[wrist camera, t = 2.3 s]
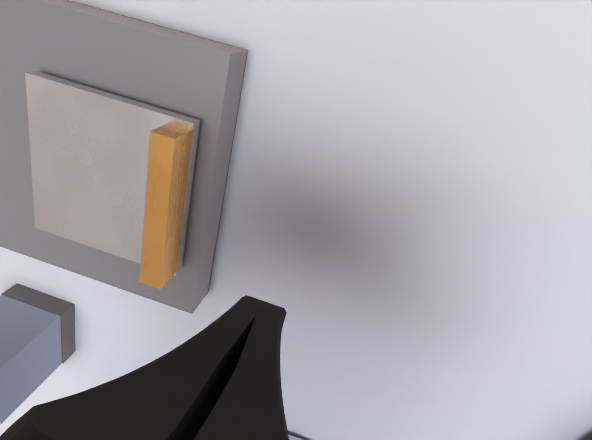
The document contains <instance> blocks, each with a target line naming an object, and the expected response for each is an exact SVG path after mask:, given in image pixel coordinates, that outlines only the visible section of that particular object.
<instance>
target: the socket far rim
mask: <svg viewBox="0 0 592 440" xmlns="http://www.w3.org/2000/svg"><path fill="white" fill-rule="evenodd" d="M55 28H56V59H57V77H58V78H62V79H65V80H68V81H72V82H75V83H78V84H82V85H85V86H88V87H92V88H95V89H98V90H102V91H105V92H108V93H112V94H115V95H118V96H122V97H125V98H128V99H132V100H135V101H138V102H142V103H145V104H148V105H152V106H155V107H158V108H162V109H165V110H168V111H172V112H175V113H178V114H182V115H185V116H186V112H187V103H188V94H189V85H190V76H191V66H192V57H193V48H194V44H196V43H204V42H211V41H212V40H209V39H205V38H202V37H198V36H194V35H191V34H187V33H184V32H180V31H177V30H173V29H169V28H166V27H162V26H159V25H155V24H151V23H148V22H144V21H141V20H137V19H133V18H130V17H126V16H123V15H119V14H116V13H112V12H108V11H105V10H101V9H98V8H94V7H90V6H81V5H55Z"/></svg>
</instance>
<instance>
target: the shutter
mask: <svg viewBox="0 0 592 440" xmlns="http://www.w3.org/2000/svg"><path fill="white" fill-rule="evenodd" d="M25 79H26V94H27V110H28V125H29V140H30V156H31V171H32V186H33V202H34V217H35V228H37V229H40V230H43V231H46V232H49V233H52V234H55V235H58V236H61V237H64V238H66V239H69V240H72V241H75V242H78V243H81V244H84V245H87V246H90V247H93V248H96V249H99V250H101V251H104V252H107V253H110V254H113V255H116V256H119V257H122V258H125V259H128V260H131V261H133V262H136V263H139V264H141V265H140V279H139V282H140V283H143V284H146V285H149V286H152V287H154V288H157V289H161V288H162V287H163V286H164V285H165V283H166V282H167V281H168V280H169V279H170V278H171V277H172V276H173V275H174V276H176V275H177V274H178V273H179V272H180V271H181V269H182V261H183V253H184V245H185V237H186V229H187V221H188V213H189V205H190V197H191V189H192V181H193V173H194V165H195V157H196V149H197V141H198V133H199V125H200V120H198V119H195V118H192V117H188V116H185V115H182V114H178V113H175V112H172V111H168V110H165V109H162V108H158V107H155V106H152V105H148V104H145V103H142V102H138V101H135V100H132V99H128V98H125V97H122V96H118V95H115V94H112V93H108V92H105V91H102V90H98V89H95V88H92V87H88V86H85V85H82V84H78V83H75V82H72V81H68V80H65V79H62V78H58V77H55V76H52V75H48V74H45V73H42V72H38V71H32V72H25Z"/></svg>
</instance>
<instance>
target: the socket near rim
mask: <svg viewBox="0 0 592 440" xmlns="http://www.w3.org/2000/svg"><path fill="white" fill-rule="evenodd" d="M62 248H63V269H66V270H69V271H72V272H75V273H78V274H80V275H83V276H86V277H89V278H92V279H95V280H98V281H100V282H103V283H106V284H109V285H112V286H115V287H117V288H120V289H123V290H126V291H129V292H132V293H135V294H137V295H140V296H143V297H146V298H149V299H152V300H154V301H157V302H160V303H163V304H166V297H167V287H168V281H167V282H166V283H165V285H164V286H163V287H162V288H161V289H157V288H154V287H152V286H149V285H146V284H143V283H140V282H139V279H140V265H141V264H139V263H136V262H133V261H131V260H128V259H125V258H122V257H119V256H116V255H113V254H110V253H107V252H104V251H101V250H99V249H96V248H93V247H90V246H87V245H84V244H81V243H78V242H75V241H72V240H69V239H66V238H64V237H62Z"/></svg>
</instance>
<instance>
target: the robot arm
mask: <svg viewBox="0 0 592 440" xmlns="http://www.w3.org/2000/svg"><path fill="white" fill-rule="evenodd" d="M285 316H286V311H285V309H284V308H282V307H279V306H276V305H273V304H270V303H267V302H264V301H261V300H259V299H256V298H253V297H250V296H247V295H246V296H244V297H242V298H241V299H240V300H239V301H238V302H237V303H236V304H235V305H234V306H232V307H231V308H230V309H229V310H228V311H227V312H225V313H224V314H223V315H222V316H221V317H219V318H218V319H217V320H215V321H214V322H213V323H212V324H210V325H209V326H208V327H206V328H205V329H204V330H202V331H201V332H199V333H198V334H197V335H195V336H194V337H192V338H191V339H189V340H188V341H186V342H185V343H183V344H182V345H180V346H178V347H177V348H175V349H174V350H172V351H170V352H169V353H167V354H165V355H163V356H162V357H160V358H158V359H156V360H154V361H152V362H151V363H149V364H147V365H145V366H143V367H140V368H138V369H136V370H134V371H132V372H130V373H128V374H126V375H124V376H121V377H119V378H117V379H114V380H112V381H109V382H107V383H104V384H101V385H99V386H96V387H94V388H91V389H88V390H86V391H83V392H80V393H77V394H74V395H71V396H68V397H64V398H61V399H58V400H54V401H51V402H47V403H44V404H40V405H37V406H33V407H32V408H31V409H30V410H29V411H28V412H26V413H25V414H24V415H23V416H22V417H20V418H19V419H18V420H17V421H16V422H15V423H13V424H12V425H11V426H10V427H9V428H8V429H7V430H6V431H5V432H4V433H3V434H2V435H1V436H0V440H302V439H300V438H297V437H294V436H292V435H289V434H288V431H287V426H286V420H285V414H284V407H283V400H282V390H281V376H280V342H281V332H282V327H283V323H284V320H285Z"/></svg>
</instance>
